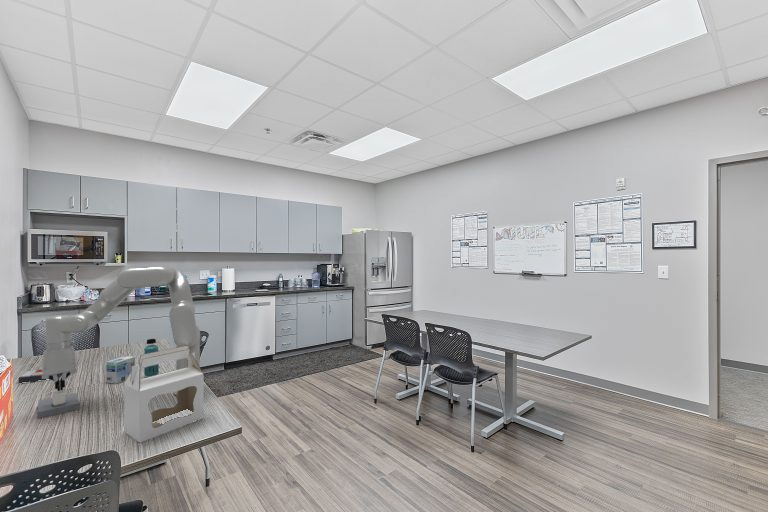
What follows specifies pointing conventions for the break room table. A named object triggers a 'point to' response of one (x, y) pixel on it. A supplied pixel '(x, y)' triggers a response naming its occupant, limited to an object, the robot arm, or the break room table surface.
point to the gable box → (180, 380)
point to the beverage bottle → (149, 349)
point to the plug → (58, 397)
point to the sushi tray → (33, 376)
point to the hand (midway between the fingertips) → (60, 389)
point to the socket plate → (48, 409)
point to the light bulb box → (119, 369)
